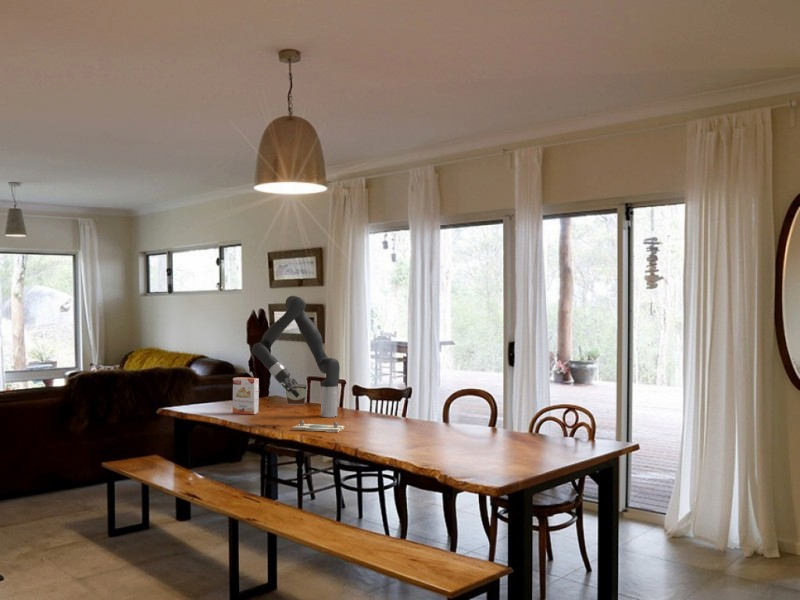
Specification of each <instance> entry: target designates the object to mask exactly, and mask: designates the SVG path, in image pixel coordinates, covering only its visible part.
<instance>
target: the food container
mask: <svg viewBox="0 0 800 600" xmlns="http://www.w3.org/2000/svg"><path fill="white" fill-rule="evenodd" d="M288 388H289V387H287V389H288ZM293 388H294V389H295V390H296V391H297V392H298V393H299V396H298V397H295V396H294V395H293V393H291V392H288V391H287V390H286V389H285V395H286V405H306V398H307V390H308V385H307V384H302V383H298V384H294V386H293Z"/></svg>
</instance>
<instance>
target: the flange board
mask: <svg viewBox="0 0 800 600" xmlns="http://www.w3.org/2000/svg"><path fill="white" fill-rule="evenodd" d="M344 428H345V425H340V424H338V421H333V424H320V423H317V424H316V423H315V424H314V423H305V420H299V424H297V425H294V426H292V427H291V431H292V430H305V431H304V432H314V431H326V432H325V433H335V432H338V433H339V431H340V432H341V431H343V430H344ZM342 429H343V430H342Z"/></svg>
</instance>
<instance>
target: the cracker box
mask: <svg viewBox="0 0 800 600" xmlns="http://www.w3.org/2000/svg"><path fill="white" fill-rule="evenodd" d="M259 380H260V379H259V378H257V377H241V376H240V377H239V376H238V377H233V378H232V414H233V415H234V414H237V415H240V414H241V415H248V414H255V415H258V414H259V401H260V400H259V398H260V397H259V395H260V385H259V384H260V381H259ZM257 413H258V414H257Z"/></svg>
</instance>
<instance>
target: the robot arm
mask: <svg viewBox="0 0 800 600" xmlns="http://www.w3.org/2000/svg"><path fill="white" fill-rule="evenodd" d="M306 307H307V305H306V301H305V299H304V298H302V297H300V296H297V295H290V296H288V297H287V298H286V300H285V309H286V311H285V312H284V314H283V315H282V316H281V317H279V318H278V319H277V320H276V321H275V322H273V323H272V324H271V325H270V326H269V327H268V328H267V330H266V331H265V332H264V334H263V336H262V338H261V340H260V341H259V342H257V343H255V344H253V345H252V347H251V352H252V354H253V355H254V356H255V357H256V359H258V360H259V361H260V362H261V363H262V364H263V366H264V368H266V369H267V371H269V373H270V374H271V375H272V377H273V378H274V379H275V380H276V381H277V382H278V383H279V384H281V386H282V387H283V388H284V390H285V391H286V390H287V391H288V392H291V393H293V395H294V396H295V397H298V396H299V393H298V392H297V391H296V390H295V389H294V388H293V386H294V384H299V383H298V381H296V379H295V378H291V377H290V376H291V373H290V371H288V369H287V368H286V367H285V366H284V365H283V364H282V363H281V362H280V361H279V359H277V358H276V357H275V356H274V355H273V354H272V353H271V352H270V349H271V347H273V344H274V343H275V342H276V341H277V339H278V338H279V337H280V336H281V335H282V333H283V332H284V331H285V330H286V329H287V327H289V325H290V324H291V323H292V322H293V321H294V322H295V323H296V325H297V328H298V330H299V331H300V334H301V336H302V338H303V339H304V341H305V343H306V345H307V346H308V349H309V350H310V353H312V356H313V358H314V360H315V363H316V365H317V367H318V370H319V371H320V372H321V373H323V374H325V379H324V380H322V381H321V385H320V386H321V389H320V391H321V392H320V393H321V396H320V397H321V398H320V402H321V403H320V417H321V418H322V417H323V418H336V417H338V385H339V384H338V383H339V381H340V372H341V371H340V369H341V367H340V362H339V361H338V359H337V358H334V357H333V358H332V357H329V356H328V355H327V354H326V352H325V350H324V348H323V347H324V346H323V337H322V335H321V333H320V332H321V331H319V329H318V327H317V326H316V325H315V323H314V322H313V321H312V319H311V318H310V317H309V316H308V315H307V313H306V311H305V309H306ZM287 387H289V388H288V389H287ZM335 416H336V417H335Z"/></svg>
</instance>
